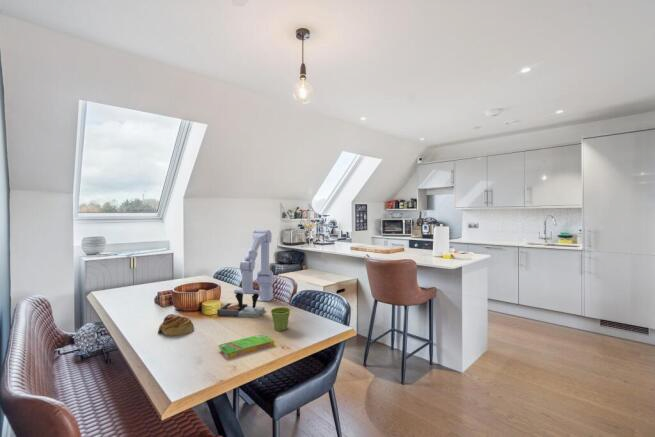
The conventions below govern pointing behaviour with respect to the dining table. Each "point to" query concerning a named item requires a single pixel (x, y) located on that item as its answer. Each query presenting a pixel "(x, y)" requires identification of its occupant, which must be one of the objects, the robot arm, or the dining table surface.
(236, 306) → the block
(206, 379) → the dining table surface
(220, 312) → the box
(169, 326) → the pastry
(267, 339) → the game box
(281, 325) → the plant pot
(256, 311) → the slate plate
